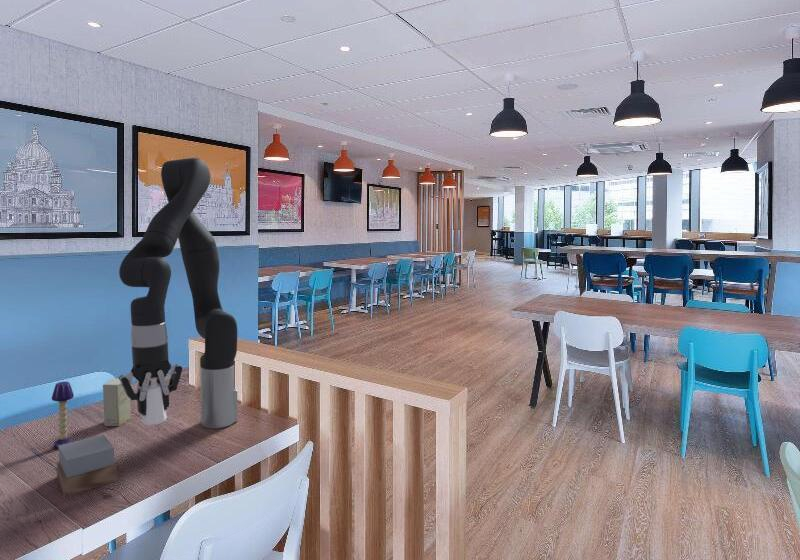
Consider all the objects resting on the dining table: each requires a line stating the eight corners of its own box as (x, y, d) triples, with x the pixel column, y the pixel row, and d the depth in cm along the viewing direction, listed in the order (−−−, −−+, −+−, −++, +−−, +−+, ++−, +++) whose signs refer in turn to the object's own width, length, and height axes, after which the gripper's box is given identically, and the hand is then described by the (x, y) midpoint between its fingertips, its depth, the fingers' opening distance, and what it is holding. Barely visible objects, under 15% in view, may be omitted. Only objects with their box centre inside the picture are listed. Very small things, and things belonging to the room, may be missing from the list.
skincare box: (119, 426, 139) (117, 385, 137) (103, 426, 139) (101, 384, 137) (131, 418, 145) (130, 378, 143) (116, 417, 145) (115, 377, 144)
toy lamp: (72, 439, 130) (69, 378, 128) (78, 445, 127) (75, 382, 125) (51, 445, 126) (47, 383, 124) (57, 451, 123) (53, 387, 121)
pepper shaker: (157, 426, 114) (154, 380, 113) (136, 424, 115) (133, 379, 114) (171, 417, 120) (169, 373, 118) (151, 415, 120) (149, 371, 119)
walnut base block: (107, 465, 118) (106, 449, 118) (117, 482, 111) (116, 465, 110) (57, 478, 112) (56, 462, 111) (64, 498, 104) (63, 480, 104)
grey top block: (104, 450, 117) (103, 434, 117) (114, 464, 111) (113, 447, 110) (59, 462, 111) (58, 445, 111) (67, 478, 105) (66, 460, 104)
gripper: (175, 333, 122) (178, 399, 125) (111, 344, 112) (116, 415, 115) (186, 339, 117) (190, 408, 119) (120, 350, 107) (125, 425, 109)
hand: (153, 411), depth 117 cm, fingers closed on pepper shaker, 4 cm apart
